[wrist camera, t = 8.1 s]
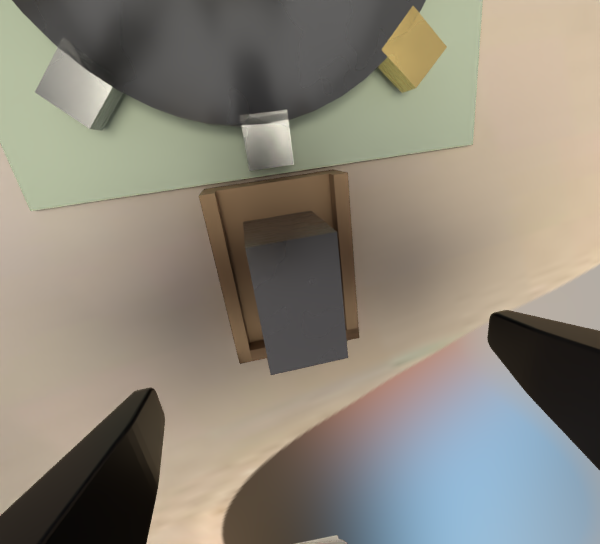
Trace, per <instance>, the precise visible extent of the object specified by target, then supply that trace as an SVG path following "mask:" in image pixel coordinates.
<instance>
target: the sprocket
mask: <svg viewBox="0 0 600 544" xmlns="http://www.w3.org/2000/svg"><path fill="white" fill-rule="evenodd" d="M12 1H13V2H14V3H15V5H16V6H17V7H18V8H19V9H20V11H21V12H22V13H23V14H24V15H25V16H26V17H27V18H28V19H29V20H30V21H31V22H32V23H33V24H34V25H35V26H36V27H37V28H38V29H39V30H40V31H41V32H42V33H43V34H44V35H46V36H47V37H48V38H49V39H50V40H51V41H52V42H53V43H54V44H55V45H56V46H57V47H58V48H57V50H56V52H55V53H54V55H53V57H52V59H51V61H50V63H49V65H48V67H47V69H46V71H45V73H44V75H43V77H42V79H41V81H40V83H39V85H38V87H37V89H36V91H35V93H37V94H38V95H40V96H41V97H43V98H44V99H46V100H47V101H49V102H50V103H51V104H53V105H54V106H56V107H57V108H59V109H60V110H62V111H63V112H65V113H66V114H68V115H69V116H71V117H72V118H74V119H75V120H77V121H78V122H80V123H81V124H83V125H84V126H86V127H87V128H89V129H94V130H101V131H103V129H104V127H105V126H106V124H107V122H108V120H109V119H110V117H111V115H112V113H113V111H114V110H115V108H116V106H117V104H118V103H119V101H120V99H121V97H122V96H123V94H126V95H128V96H130V97H132V98H134V99H136V100H138V101H140V102H142V103H144V104H146V105H148V106H150V107H152V108H154V109H156V110H159V111H162V112H164V113H167V114H170V115H173V116H176V117H178V118H181V119H184V120H188V121H193V122H198V123H202V124H207V125H211V126H223V127H235V128H241V129H242V135H243V140H244V146H245V152H246V157H247V163H248V168H249V171H254V170H261V169H267V168H274V167H281V166H288V165H294V159H293V151H292V144H291V136H290V128H289V120H292V119H295V118H298V117H300V116H303V115H306V114H309V113H311V112H313V111H315V110H317V109H319V108H321V107H323V106H325V105H327V104H328V103H330V102H332V101H334V100H336V99H338V98H340V97H341V96H343V95H344V94H346V93H347V92H348V91H350V90H351V89H352V88H354V87H355V86H356V85H358V84H359V83H361V82H362V81H363V80H365V79H366V78H367V77H368V76H369V75H370V74H371V73H372V72H373V71H374V70H375V69H376V68H377V67H378V68H379V69H380V70H381V71H382V72H383V73H384V74H385V75H386V77H387V78H388V79H389V80H390V81H391V82H392V83H393V84H394V85H395V86H396V87H397V88H398V89H399V90H400V91H401V93H404V92H407V91H409V90H412V89H415V88H417V86H418V85H419V84H420V82H421V81H422V80H423V78H424V77H425V76H426V75H427V73H428V72H429V71H430V69H431V68H432V67H433V65H434V64H435V63H436V61H437V60H438V59H439V57H440V56H441V55H442V53H443V52H444V51H445V49H446V48H447V46H446V45H445V44H444V43H443V41H442V40H441V39H440V38H439V36H438V35H437V34H436V33H435V32H434V30H433V29H432V28H431V27H430V25H429V24H428V23H427V22H426V20H425V19H424V18H423V17H422V16H421V14H420V13H419V12H420V11H421V9H422V7H423V5H424V3H425V1H426V0H12Z"/></svg>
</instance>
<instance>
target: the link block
mask: <svg viewBox="0 0 600 544" xmlns="http://www.w3.org/2000/svg"><path fill="white" fill-rule="evenodd" d="M243 227H244V240H245V250H246V255H247V260H248V265H249V270H250V274H251V279H252V284H253V289H254V294H255V299H256V304H257V309H258V314H259V319H260V324H261V329H262V334H263V339H264V344H265V348H266V353H267V358H268V363H269V368H270V373H271V375H274V374H278V373H283V372H287V371H292V370H296V369H301V368H305V367H309V366H314V365H318V364H323V363H327V362H331V361H336V360H340V359H345V358H348V351H347V339H346V328H345V317H344V305H343V294H342V283H341V271H340V260H339V249H338V237H337V231H335V230H334V229H333V228H332V227H331V226H329V225H328V224H327V223H326V222H325V221H323V220H322V219H321V218H320V217H318V216H317V215H316V214H315V213H314V212H312V211H305V212H299V213H293V214H287V215H281V216H275V217H269V218H263V219H257V220H251V221H245V222H243Z"/></svg>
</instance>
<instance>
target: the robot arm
mask: <svg viewBox="0 0 600 544" xmlns="http://www.w3.org/2000/svg"><path fill="white" fill-rule="evenodd" d="M488 343H489V345H490V347H491V349H492V350H493V351H494V352H495V354H496V355H497V356H498V357H499V359H500V360H501V361H502V363H503V364H504V365H505V366H506V367H507V369H508V370H509V371H510V373H511V374H512V375H513V376H514V378H515V379H516V380H517V382H518V383H519V384H520V385H521V386H522V388H523V389H524V390H525V391H526V393H527V394H528V395H529V396H530V397H531V398H532V399H533V400H534V401H535V402H536V404H538V406H539V407H541V409H542V410H543V411H544V412H545V413H546V414H547V415H548V416H549V417H550V418H551V419H552V420H553V421H554V423H555V424H556V425H557V426H558V427H559V428H560V429H561V430H562V431H563V432H564V433H565V434H566V435H567V436H568V437H569V438H570V440H572V442H573V443H574V444H575V445H576V446H577V447H578V448H579V449H580V450H581V451H582V452H583V453H584V454H585V455H586V456H587V458H588V459H590V461H591V462H592V463H593V464H594V465H595V466H596V467H597V468H598V469H599V470H600V331H598V330H593V329H589V328H584V327H580V326H576V325H571V324H566V323H562V322H558V321H553V320H549V319H545V318H540V317H536V316H531V315H527V314H523V313H518V312H514V311H509V310H504V311H499V312H495V313H493V314H491V316H490V319H489V330H488ZM164 426H165V416H164V412H163V409H162V406H161V404H160V401H159V399H158V396H157V393H156V391H155V390H154V389H153V388H146V389H142V390H137V391H135V392H133V393H132V394H131V395H130V396H129V397H128V398H127V399H126V400H125V401H124V402H123V403H121V404H120V405H119V406H118V407H117V408H116V409H115V410H114V411H113V412H112V413H111V414H110V415H109V416H107V417H106V418H105V419H104V420H103V421H102V422H101V423H100V424H99V425H98V426H97V427H96V428H94V429H93V430H92V431H91V432H90V433H89V434H88V435H87V436H86V437H85V438H84V439H83V440H82V441H80V442H79V443H78V444H77V445H76V446H75V447H74V448H73V449H72V450H71V451H70V452H69V453H68V454H66V455H65V456H64V457H63V458H62V459H61V460H60V461H59V462H58V463H57V464H56V465H55V466H53V467H52V468H51V469H50V470H49V471H48V472H47V473H46V474H45V475H44V476H43V477H42V478H41V479H39V480H38V481H37V482H36V483H35V484H34V485H33V486H32V487H31V488H30V489H29V490H28V491H26V492H25V493H24V494H23V495H22V496H21V497H20V498H19V499H18V500H17V501H16V502H15V503H13V504H12V505H11V506H10V507H9V508H8V509H7V510H6V511H5V512H4V513H3V514H2V515H1V516H0V544H146V542H147V538H148V533H149V528H150V524H151V519H152V514H153V509H154V505H155V500H156V495H157V489H158V483H159V475H160V465H161V455H162V445H163V436H164Z"/></svg>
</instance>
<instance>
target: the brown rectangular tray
mask: <svg viewBox="0 0 600 544" xmlns="http://www.w3.org/2000/svg"><path fill="white" fill-rule="evenodd" d="M199 198H200V203H201V207H202V211H203V215H204V219H205V223H206V227H207V231H208V235H209V240H210V244H211V248H212V252H213V256H214V260H215V264H216V268H217V272H218V276H219V281H220V285H221V289H222V293H223V297H224V301H225V305H226V309H227V313H228V318H229V322H230V326H231V330H232V334H233V338H234V342H235V346H236V350H237V355H238V359H239V363H240V364H241V363H246V362H250V361H255V360H260V359H264V358H267V353H266V348H265V344H264V339H263V334H262V329H261V324H260V319H259V314H258V309H257V304H256V299H255V294H254V289H253V284H252V279H251V274H250V270H249V265H248V260H247V255H246V250H245V240H244V227H243V222H245V221H251V220H257V219H263V218H269V217H275V216H281V215H287V214H293V213H299V212H305V211H312V212H314V213H315V214H316V215H317V216H318V217H320V218H321V219H322V220H323V221H325V222H326V223H327V224H328V225H329V226H331V227H332V228H333V229H334V230H335V231H337V237H338V249H339V260H340V271H341V283H342V294H343V305H344V317H345V328H346V339H347V340H351V339H355V338H359V328H358V314H357V300H356V285H355V271H354V257H353V243H352V228H351V214H350V200H349V186H348V173H346V172H342V171H337V170H327V171H321V172H314V173H308V174H301V175H294V176H288V177H281V178H275V179H268V180H262V181H255V182H248V183H242V184H235V185H229V186H222V187H215V188H209V189H204V190H203V191H202V192H201V194H200V195H199Z"/></svg>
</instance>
